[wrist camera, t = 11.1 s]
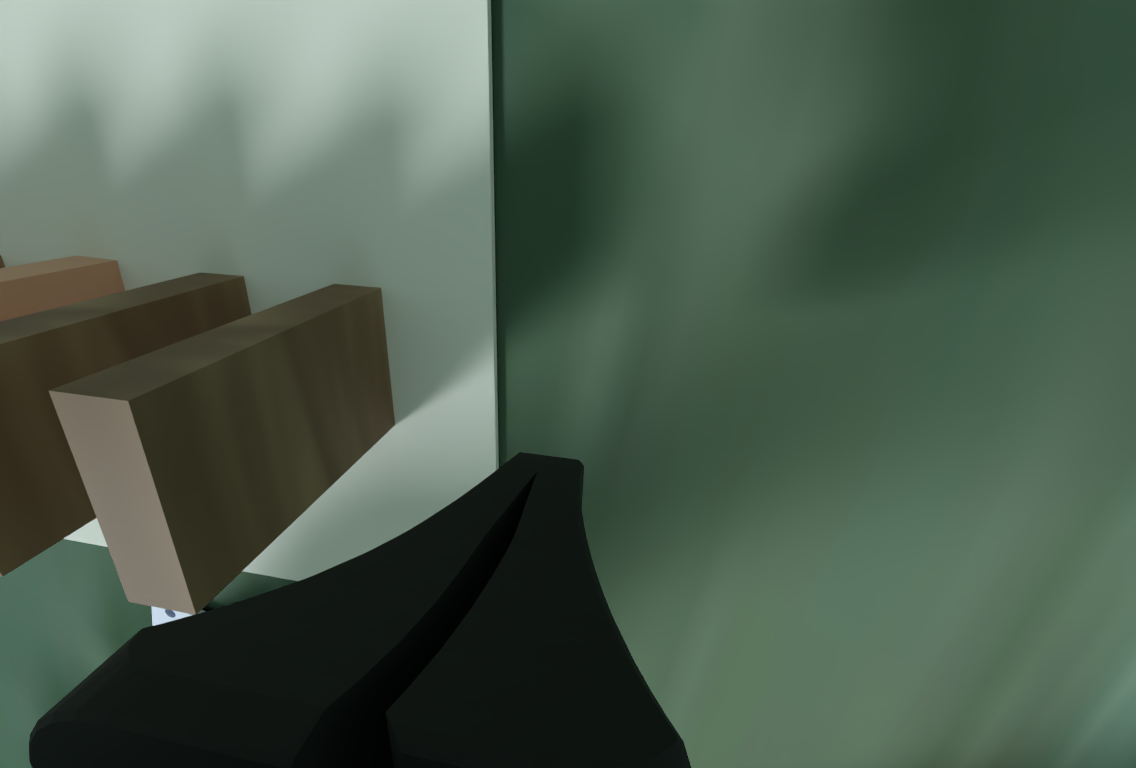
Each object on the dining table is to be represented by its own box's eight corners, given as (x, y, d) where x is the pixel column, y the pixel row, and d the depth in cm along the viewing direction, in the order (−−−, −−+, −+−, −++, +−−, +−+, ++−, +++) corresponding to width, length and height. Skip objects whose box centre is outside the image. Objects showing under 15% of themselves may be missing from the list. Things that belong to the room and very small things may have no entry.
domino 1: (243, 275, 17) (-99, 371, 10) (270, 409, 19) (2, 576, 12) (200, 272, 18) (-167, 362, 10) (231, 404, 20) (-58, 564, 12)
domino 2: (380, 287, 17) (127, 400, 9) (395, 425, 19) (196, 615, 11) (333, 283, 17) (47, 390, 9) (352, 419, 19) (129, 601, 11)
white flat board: (490, -31, 13) (486, -35, 13) (501, 612, 22) (498, 617, 21) (-335, -20, 18) (-351, -23, 17) (-60, 511, 26) (-68, 515, 26)
